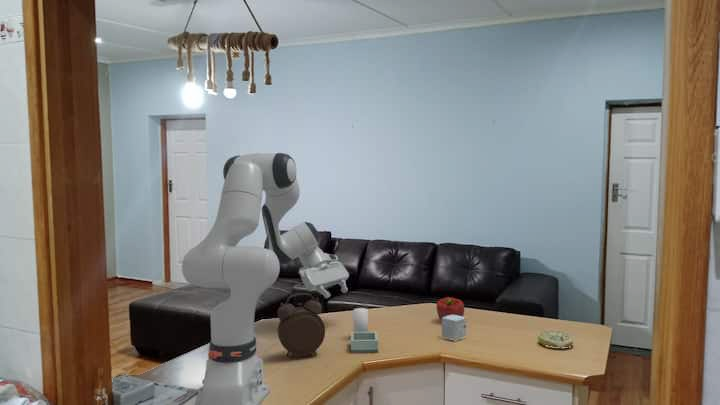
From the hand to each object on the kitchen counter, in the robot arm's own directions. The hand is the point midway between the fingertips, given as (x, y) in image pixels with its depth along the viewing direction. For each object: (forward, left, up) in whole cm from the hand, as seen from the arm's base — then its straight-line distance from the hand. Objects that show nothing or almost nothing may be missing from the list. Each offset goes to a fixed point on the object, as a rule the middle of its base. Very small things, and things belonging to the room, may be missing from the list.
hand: (337, 294), depth 187 cm
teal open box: (-17, -9, -14) cm, 24 cm away
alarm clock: (-23, +11, -14) cm, 29 cm away
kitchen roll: (-7, -8, -14) cm, 17 cm away
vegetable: (+10, -42, -14) cm, 46 cm away
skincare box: (-8, -40, -14) cm, 43 cm away
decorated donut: (-16, -72, -14) cm, 75 cm away
